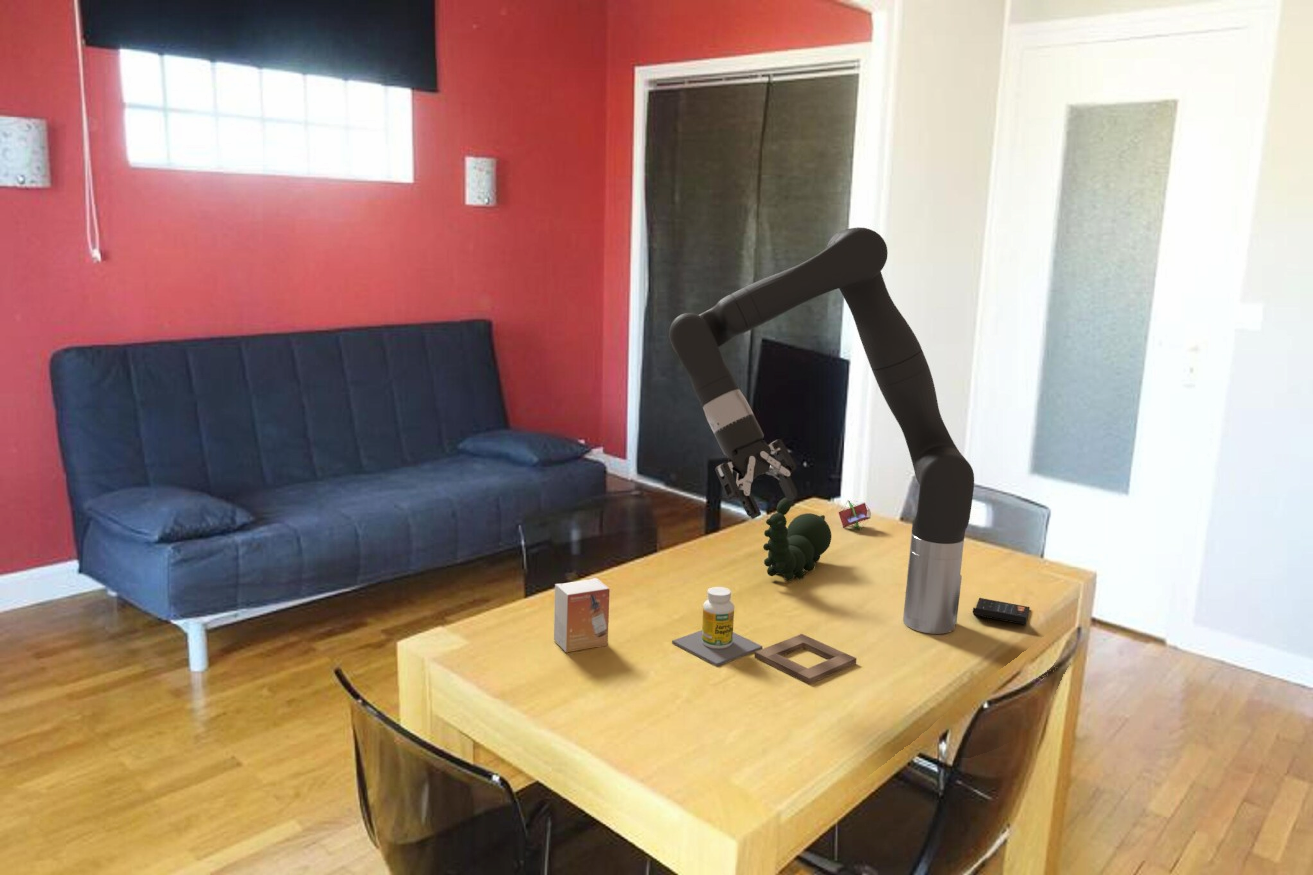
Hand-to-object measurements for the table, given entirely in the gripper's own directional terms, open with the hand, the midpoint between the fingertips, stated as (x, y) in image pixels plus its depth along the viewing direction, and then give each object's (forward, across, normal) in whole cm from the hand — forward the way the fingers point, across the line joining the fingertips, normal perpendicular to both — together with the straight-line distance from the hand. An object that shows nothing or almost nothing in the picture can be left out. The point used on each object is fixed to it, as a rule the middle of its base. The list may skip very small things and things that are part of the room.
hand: (775, 508), depth 167 cm
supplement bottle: (+17, -13, +15) cm, 26 cm away
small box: (+6, -31, +25) cm, 41 cm away
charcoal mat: (+17, -13, +16) cm, 26 cm away
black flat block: (+38, +40, +5) cm, 55 cm away
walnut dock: (+25, -4, +6) cm, 26 cm away
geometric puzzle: (+13, +56, +50) cm, 76 cm away
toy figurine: (+14, +24, +35) cm, 45 cm away
